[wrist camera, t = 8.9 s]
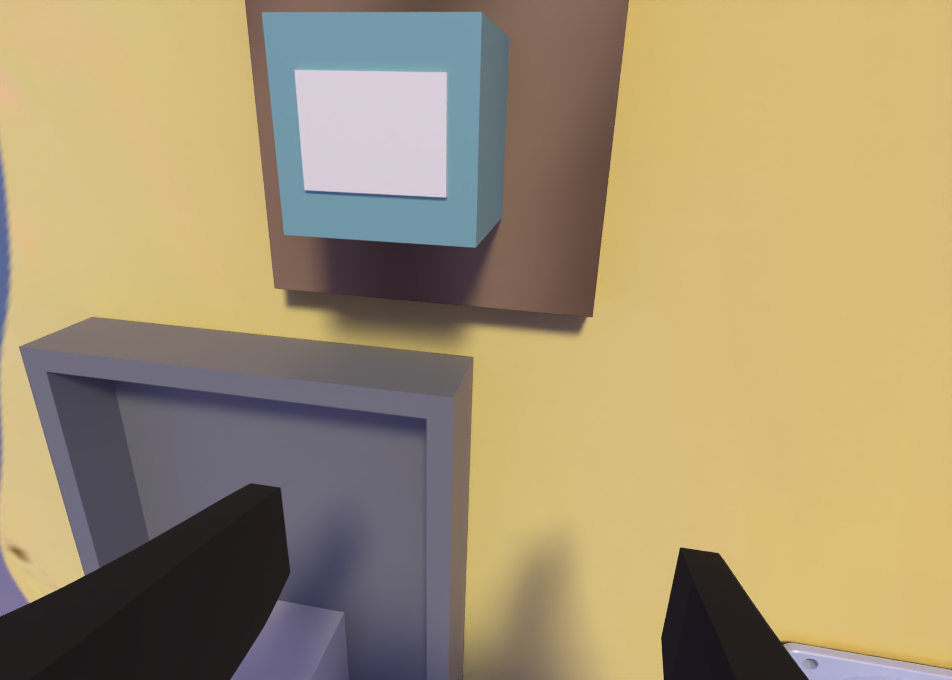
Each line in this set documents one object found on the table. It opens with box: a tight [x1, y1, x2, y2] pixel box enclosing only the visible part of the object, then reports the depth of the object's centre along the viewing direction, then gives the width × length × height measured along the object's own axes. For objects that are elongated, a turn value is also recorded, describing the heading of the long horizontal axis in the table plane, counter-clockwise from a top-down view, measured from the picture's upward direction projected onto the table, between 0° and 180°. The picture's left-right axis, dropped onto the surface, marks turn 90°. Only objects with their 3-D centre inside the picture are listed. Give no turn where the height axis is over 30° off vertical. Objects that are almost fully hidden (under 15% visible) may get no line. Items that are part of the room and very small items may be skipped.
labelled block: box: [262, 12, 510, 248], centre depth 14 cm, size 4×4×4 cm
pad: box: [245, 0, 629, 317], centre depth 16 cm, size 10×10×1 cm
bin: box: [19, 317, 473, 680], centre depth 23 cm, size 15×20×3 cm
